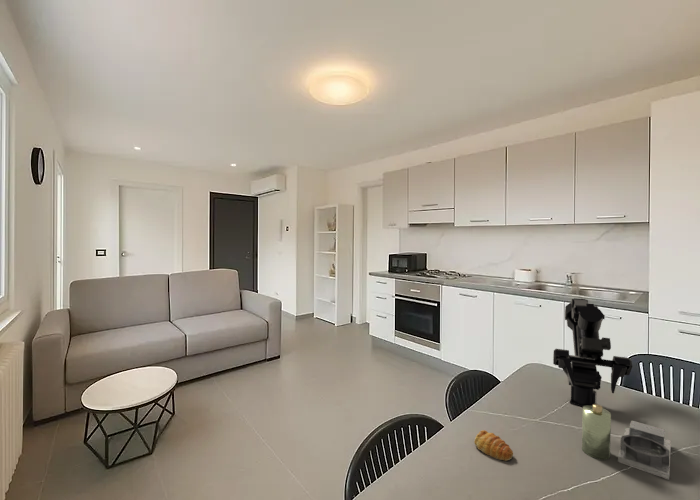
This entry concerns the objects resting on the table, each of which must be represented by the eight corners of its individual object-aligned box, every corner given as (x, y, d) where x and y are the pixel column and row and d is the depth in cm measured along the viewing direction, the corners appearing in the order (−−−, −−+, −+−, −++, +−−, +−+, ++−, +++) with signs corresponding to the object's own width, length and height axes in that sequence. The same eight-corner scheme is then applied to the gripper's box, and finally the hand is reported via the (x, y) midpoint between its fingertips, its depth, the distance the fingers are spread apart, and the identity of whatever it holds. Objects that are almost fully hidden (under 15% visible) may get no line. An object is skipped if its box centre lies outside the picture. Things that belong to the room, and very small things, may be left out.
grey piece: (617, 462, 86) (618, 444, 86) (625, 433, 99) (626, 417, 99) (669, 480, 80) (669, 460, 80) (670, 446, 93) (670, 429, 93)
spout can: (580, 443, 94) (581, 396, 94) (607, 449, 91) (608, 401, 91) (583, 455, 89) (584, 405, 89) (612, 462, 86) (613, 411, 86)
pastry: (518, 456, 89) (518, 442, 89) (503, 466, 85) (503, 451, 85) (486, 439, 96) (486, 425, 96) (471, 447, 93) (471, 433, 93)
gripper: (554, 322, 105) (555, 370, 96) (631, 329, 97) (641, 383, 87) (552, 341, 113) (553, 387, 103) (624, 349, 104) (632, 401, 94)
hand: (592, 389), depth 97 cm, fingers open, 9 cm apart
